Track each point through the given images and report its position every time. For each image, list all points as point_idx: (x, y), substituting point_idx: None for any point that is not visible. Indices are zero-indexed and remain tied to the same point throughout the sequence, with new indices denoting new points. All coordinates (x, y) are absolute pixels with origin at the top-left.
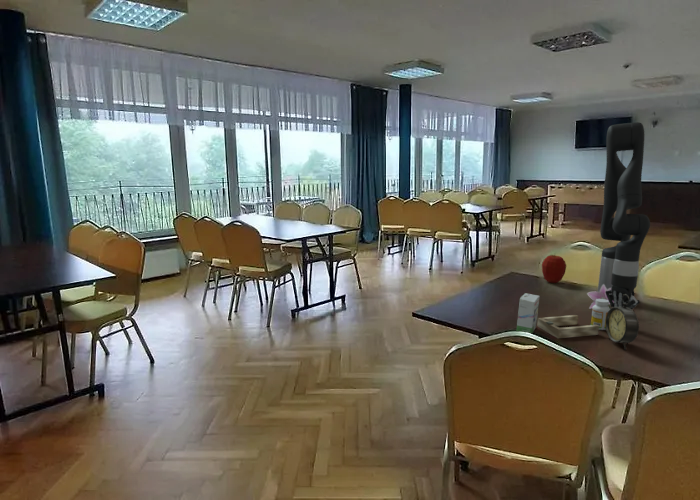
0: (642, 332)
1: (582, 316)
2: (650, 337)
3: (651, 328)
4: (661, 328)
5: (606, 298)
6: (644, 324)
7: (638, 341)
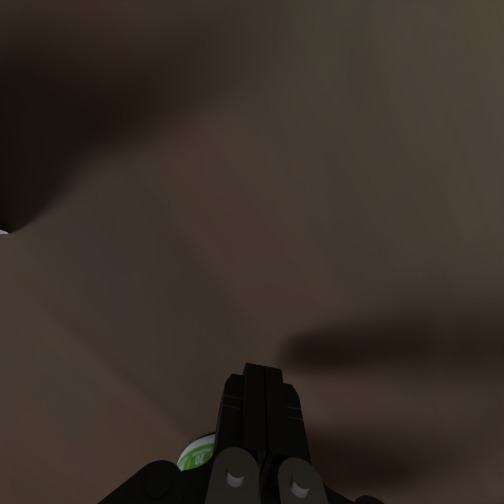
0: (420, 329)
1: (29, 401)
2: (493, 364)
3: (425, 187)
4: (484, 97)
5: None
6: (340, 142)
7: (468, 464)
